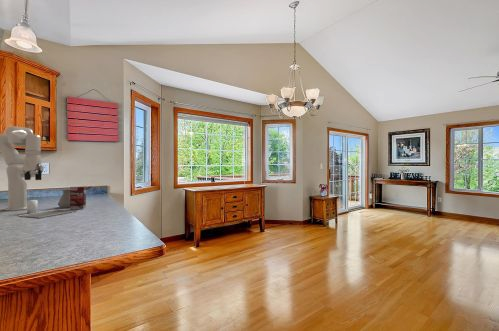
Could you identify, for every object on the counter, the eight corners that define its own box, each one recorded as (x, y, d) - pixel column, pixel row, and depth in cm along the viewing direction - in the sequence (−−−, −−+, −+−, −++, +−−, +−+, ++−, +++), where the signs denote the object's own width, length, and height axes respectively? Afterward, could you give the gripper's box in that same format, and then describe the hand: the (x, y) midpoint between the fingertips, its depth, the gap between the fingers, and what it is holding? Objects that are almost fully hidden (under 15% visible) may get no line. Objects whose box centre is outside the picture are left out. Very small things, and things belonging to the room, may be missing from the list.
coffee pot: (56, 209, 173) (57, 187, 173) (58, 206, 183) (58, 186, 183) (92, 206, 185) (92, 186, 185) (92, 204, 194) (92, 185, 194)
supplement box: (69, 209, 170) (69, 187, 171) (72, 208, 175) (72, 186, 175) (83, 209, 173) (83, 186, 173) (86, 208, 177) (86, 186, 178)
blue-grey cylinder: (25, 213, 157) (25, 200, 157) (33, 211, 162) (34, 199, 162) (30, 213, 155) (30, 201, 155) (39, 212, 160) (39, 200, 160)
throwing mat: (18, 216, 146) (18, 215, 146) (56, 210, 168) (56, 209, 168) (40, 218, 142) (40, 217, 142) (76, 211, 163) (76, 210, 163)
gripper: (16, 153, 157) (16, 180, 157) (36, 153, 153) (36, 180, 153) (30, 154, 165) (30, 179, 164) (48, 153, 160) (48, 179, 160)
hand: (32, 179), depth 158 cm, fingers open, 9 cm apart
